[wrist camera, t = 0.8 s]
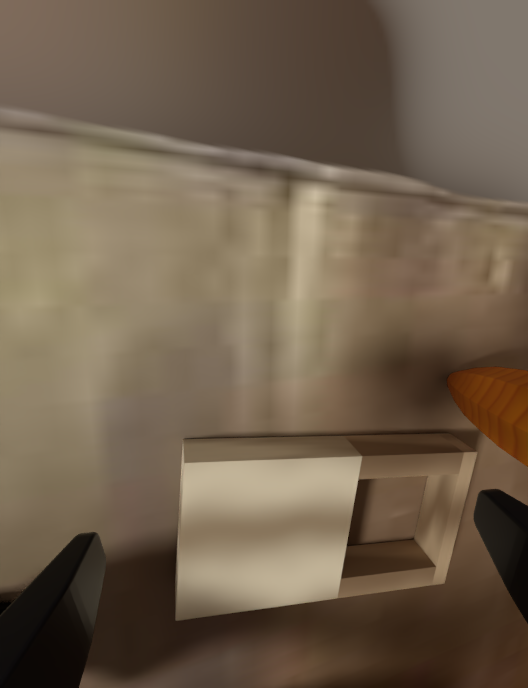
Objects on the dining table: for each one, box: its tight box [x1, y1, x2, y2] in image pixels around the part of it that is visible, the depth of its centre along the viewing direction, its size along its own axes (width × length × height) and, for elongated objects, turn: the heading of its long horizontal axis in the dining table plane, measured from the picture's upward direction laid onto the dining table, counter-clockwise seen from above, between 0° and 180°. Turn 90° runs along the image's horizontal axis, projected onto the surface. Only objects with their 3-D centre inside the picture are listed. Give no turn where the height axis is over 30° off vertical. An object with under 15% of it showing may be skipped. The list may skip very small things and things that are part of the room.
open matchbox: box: [175, 433, 477, 621], centre depth 24 cm, size 10×18×2 cm, turn 84°
